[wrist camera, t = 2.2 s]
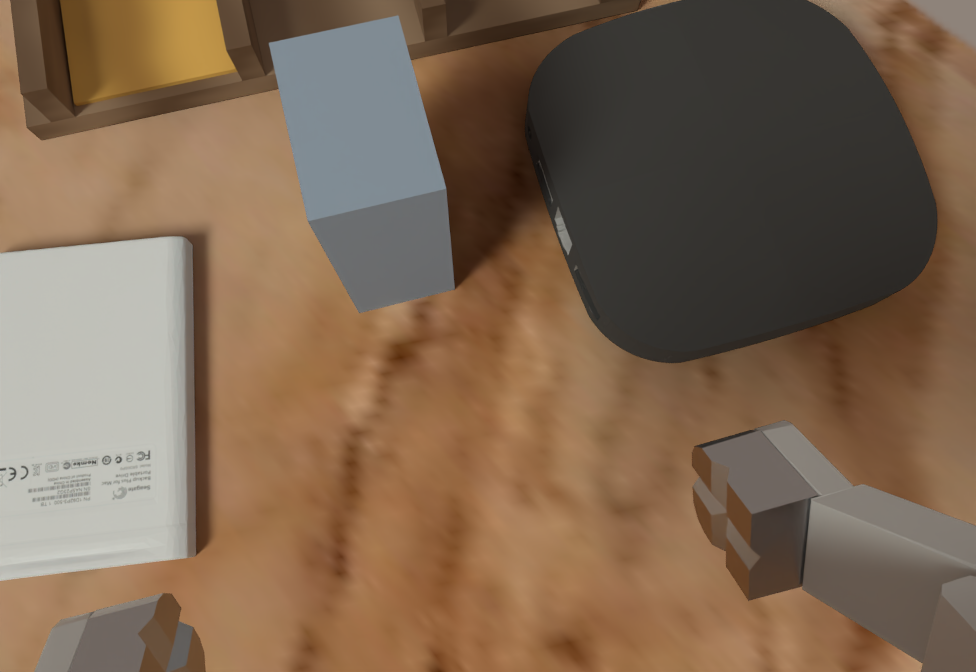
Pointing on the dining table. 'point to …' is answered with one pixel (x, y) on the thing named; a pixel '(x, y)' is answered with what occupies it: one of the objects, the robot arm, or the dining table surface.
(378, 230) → the grey rectangular block
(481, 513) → the dining table surface
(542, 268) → the dining table surface
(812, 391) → the dining table surface
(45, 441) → the external hard drive
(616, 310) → the media streaming box
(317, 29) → the rack
